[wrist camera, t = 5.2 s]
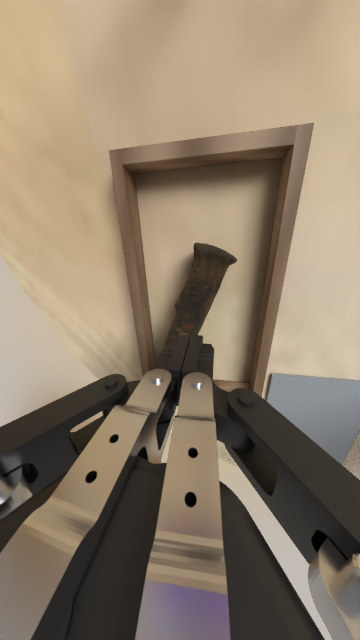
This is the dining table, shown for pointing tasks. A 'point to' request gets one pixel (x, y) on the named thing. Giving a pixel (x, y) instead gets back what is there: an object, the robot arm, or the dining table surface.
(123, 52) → the dining table surface
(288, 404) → the mat
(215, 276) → the hand tool
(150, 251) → the dining table surface
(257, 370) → the wooden frame
